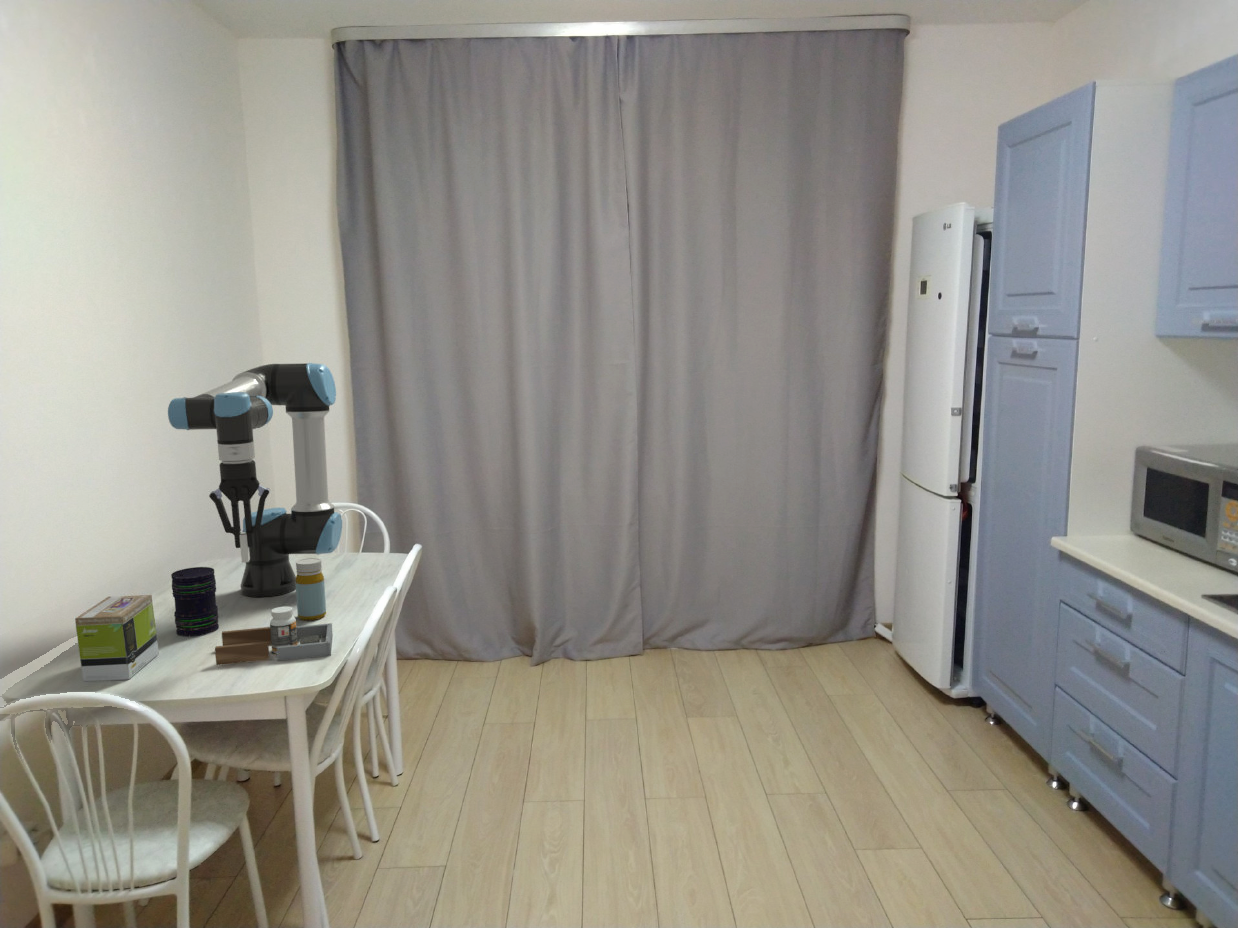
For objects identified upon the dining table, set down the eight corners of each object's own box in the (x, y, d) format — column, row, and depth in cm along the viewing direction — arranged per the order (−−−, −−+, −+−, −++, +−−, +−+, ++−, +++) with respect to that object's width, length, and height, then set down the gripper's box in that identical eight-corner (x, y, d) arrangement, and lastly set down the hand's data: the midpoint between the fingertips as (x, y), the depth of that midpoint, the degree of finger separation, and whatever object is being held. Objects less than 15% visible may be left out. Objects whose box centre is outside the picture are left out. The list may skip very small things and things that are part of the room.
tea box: (114, 656, 202) (108, 594, 200) (160, 654, 203) (154, 593, 201) (80, 682, 187) (73, 616, 185) (129, 680, 188) (123, 614, 186)
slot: (223, 647, 207) (222, 631, 206) (273, 642, 210) (272, 626, 209) (216, 665, 196) (214, 648, 196) (268, 659, 199) (267, 642, 199)
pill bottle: (299, 651, 204) (296, 610, 202) (273, 656, 201) (270, 614, 200) (296, 644, 209) (293, 604, 207) (270, 648, 206) (267, 607, 205)
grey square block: (302, 646, 208) (301, 636, 207) (320, 645, 209) (319, 635, 208) (300, 652, 204) (300, 642, 204) (318, 650, 205) (318, 640, 205)
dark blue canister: (211, 620, 226) (206, 564, 224) (225, 629, 219) (221, 572, 217) (170, 630, 219) (164, 572, 217) (183, 639, 212) (178, 580, 210)
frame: (282, 639, 212) (281, 627, 211) (332, 634, 215) (331, 623, 215) (277, 660, 199) (276, 648, 198) (330, 655, 202) (330, 642, 201)
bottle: (317, 621, 225) (313, 565, 222) (292, 620, 226) (288, 563, 224) (331, 613, 231) (327, 558, 229) (307, 611, 233) (303, 556, 230)
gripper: (203, 465, 194) (213, 567, 198) (266, 461, 197) (274, 562, 202) (208, 459, 201) (217, 558, 205) (269, 456, 205) (276, 553, 209)
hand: (245, 560), depth 203 cm, fingers closed
